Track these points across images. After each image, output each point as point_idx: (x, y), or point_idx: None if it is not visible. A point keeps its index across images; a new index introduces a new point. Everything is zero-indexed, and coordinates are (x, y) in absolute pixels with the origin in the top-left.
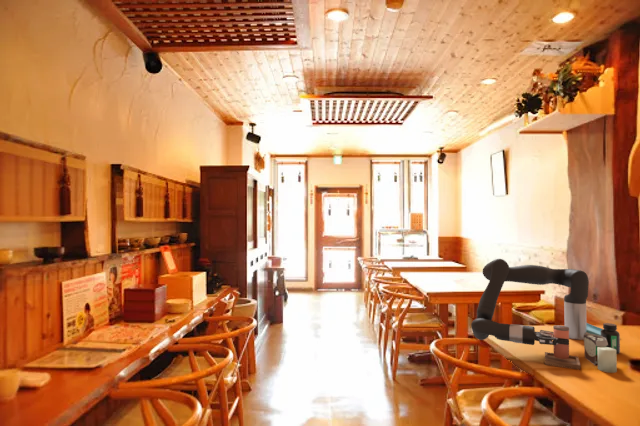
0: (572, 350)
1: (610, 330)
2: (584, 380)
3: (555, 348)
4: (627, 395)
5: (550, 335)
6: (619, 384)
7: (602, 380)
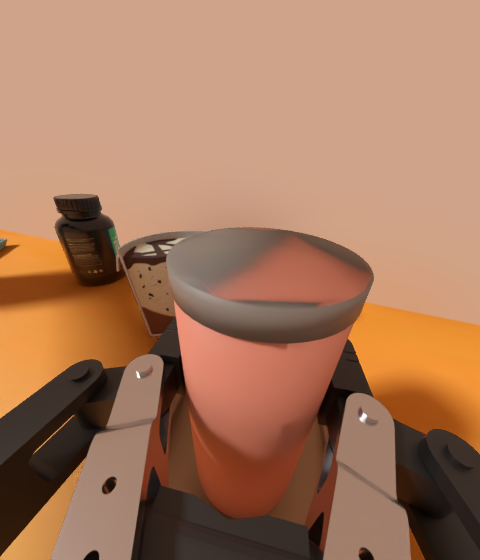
0: (42, 352)
1: (96, 214)
2: (473, 414)
3: (286, 479)
4: (474, 331)
5: (380, 501)
6: (390, 324)
7: (396, 352)
